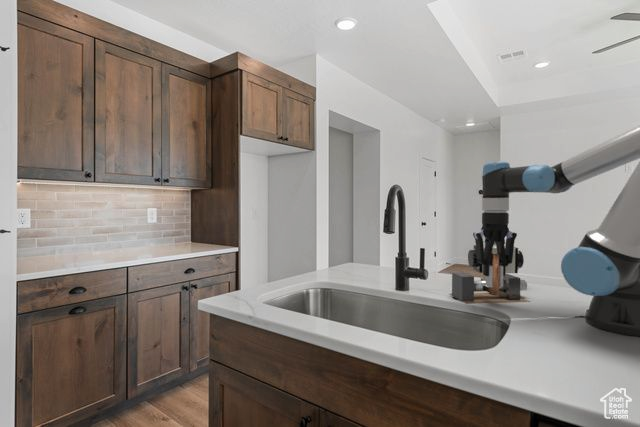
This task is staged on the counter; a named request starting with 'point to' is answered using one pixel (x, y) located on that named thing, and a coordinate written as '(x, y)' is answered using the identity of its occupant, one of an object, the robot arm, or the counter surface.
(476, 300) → the board
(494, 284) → the slip tube
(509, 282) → the clamp
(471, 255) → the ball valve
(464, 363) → the counter surface
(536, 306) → the counter surface
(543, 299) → the counter surface
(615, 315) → the robot arm
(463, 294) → the dark grey block
